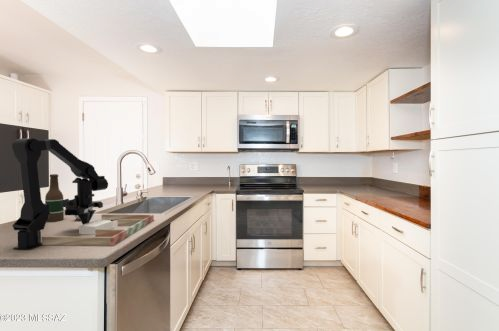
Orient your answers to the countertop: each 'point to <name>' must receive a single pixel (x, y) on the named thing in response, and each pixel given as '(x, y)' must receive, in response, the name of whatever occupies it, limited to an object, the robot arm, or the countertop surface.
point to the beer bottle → (54, 200)
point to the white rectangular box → (95, 226)
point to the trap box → (104, 232)
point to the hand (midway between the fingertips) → (85, 226)
